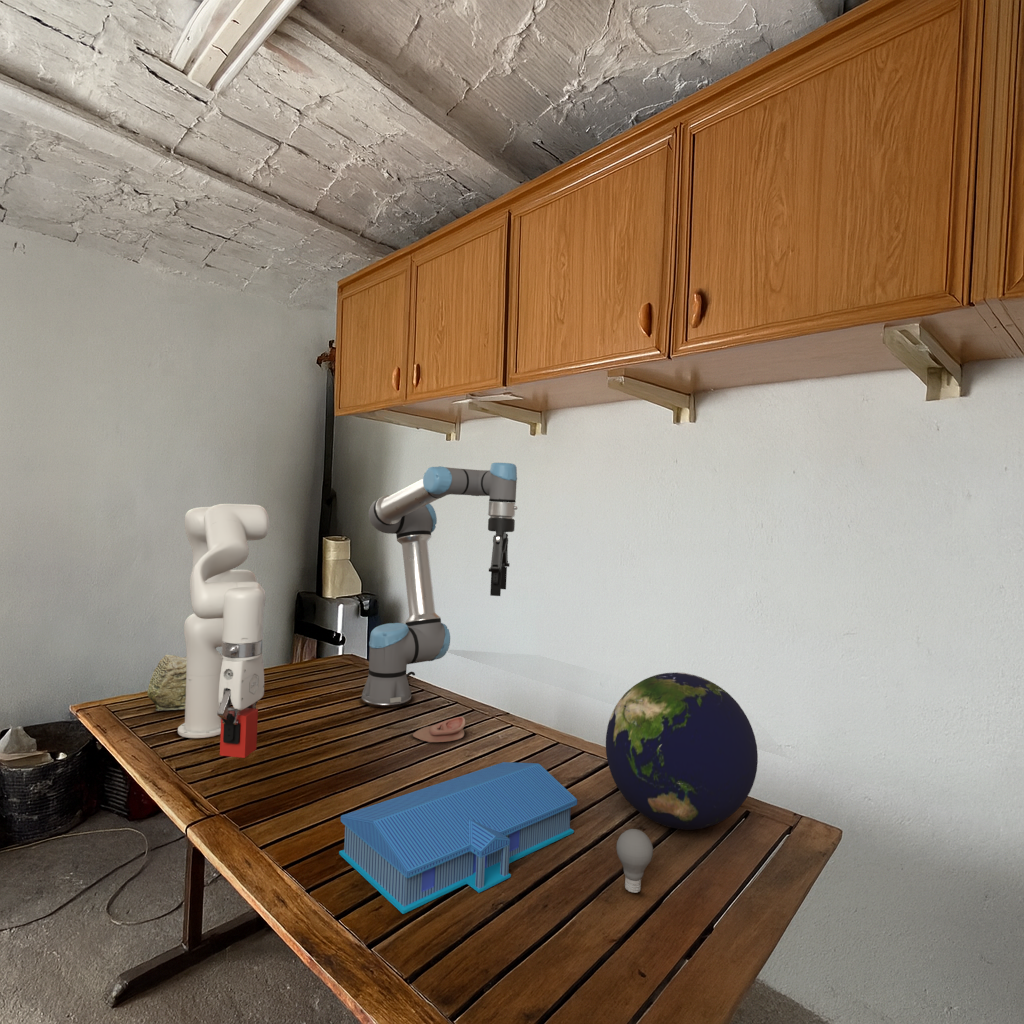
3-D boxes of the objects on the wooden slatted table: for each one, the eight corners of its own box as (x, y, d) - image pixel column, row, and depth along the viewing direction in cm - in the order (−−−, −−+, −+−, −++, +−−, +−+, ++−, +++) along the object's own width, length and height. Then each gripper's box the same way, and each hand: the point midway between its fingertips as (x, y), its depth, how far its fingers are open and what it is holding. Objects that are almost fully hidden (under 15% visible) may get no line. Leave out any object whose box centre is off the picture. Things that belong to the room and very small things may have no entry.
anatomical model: (408, 724, 167) (423, 710, 178) (408, 739, 167) (423, 724, 178) (457, 730, 164) (469, 716, 175) (456, 745, 164) (468, 730, 175)
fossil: (144, 707, 182) (145, 655, 182) (212, 696, 194) (213, 647, 194) (151, 716, 175) (153, 662, 175) (221, 703, 188) (223, 653, 188)
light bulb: (610, 879, 108) (613, 822, 108) (644, 879, 109) (647, 822, 109) (619, 902, 102) (622, 840, 102) (655, 901, 103) (658, 840, 103)
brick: (219, 755, 127) (221, 714, 127) (232, 746, 132) (233, 706, 131) (244, 758, 126) (246, 716, 126) (256, 749, 131) (258, 708, 131)
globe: (585, 837, 122) (592, 682, 121) (619, 777, 149) (625, 650, 149) (751, 879, 110) (760, 708, 110) (755, 805, 138) (762, 668, 138)
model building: (414, 925, 95) (417, 859, 95) (337, 852, 113) (340, 797, 113) (586, 839, 121) (589, 787, 121) (502, 791, 139) (504, 746, 139)
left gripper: (237, 661, 120) (233, 756, 120) (279, 640, 136) (276, 724, 137) (199, 657, 120) (196, 752, 121) (246, 638, 137) (243, 721, 138)
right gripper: (510, 519, 166) (506, 599, 167) (518, 517, 191) (515, 587, 192) (482, 517, 167) (478, 598, 168) (494, 516, 192) (491, 585, 192)
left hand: (238, 736), depth 129 cm, fingers closed on brick, 4 cm apart
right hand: (498, 592), depth 180 cm, fingers open, 13 cm apart
